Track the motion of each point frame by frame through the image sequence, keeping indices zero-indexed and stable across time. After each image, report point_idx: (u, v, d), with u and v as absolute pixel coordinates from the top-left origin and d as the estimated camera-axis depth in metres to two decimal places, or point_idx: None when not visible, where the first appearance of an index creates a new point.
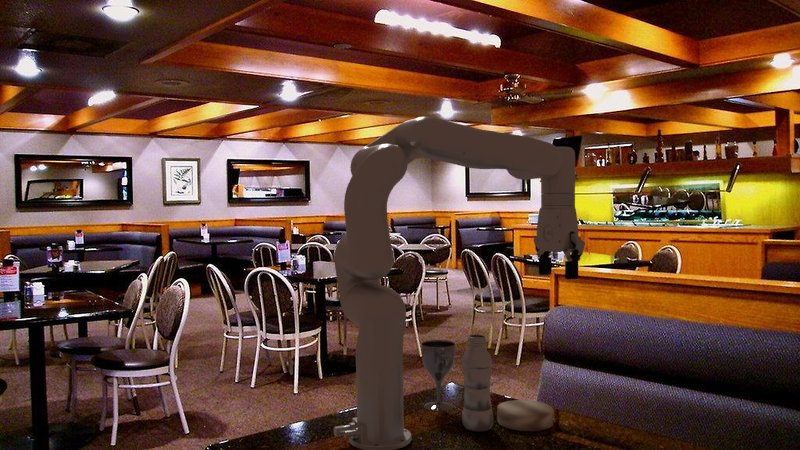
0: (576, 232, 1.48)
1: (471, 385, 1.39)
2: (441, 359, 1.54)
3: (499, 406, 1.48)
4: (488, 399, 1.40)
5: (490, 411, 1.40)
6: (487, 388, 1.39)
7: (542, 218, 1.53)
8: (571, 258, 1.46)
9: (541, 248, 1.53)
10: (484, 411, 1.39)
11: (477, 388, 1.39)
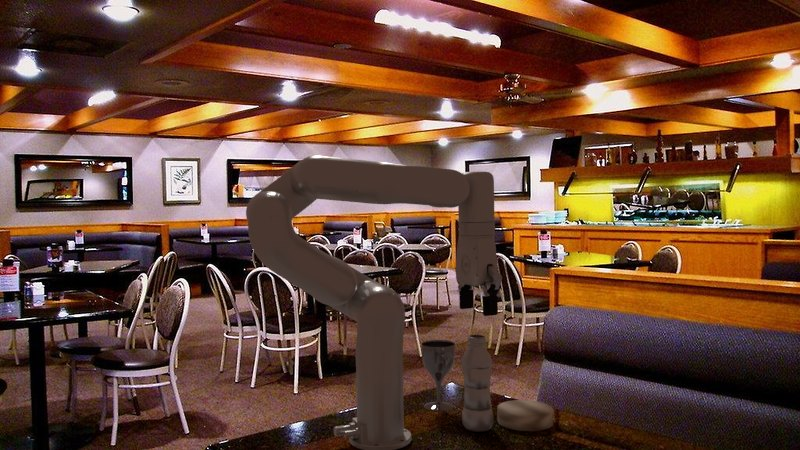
0: (494, 264, 1.36)
1: (471, 385, 1.39)
2: (441, 359, 1.54)
3: (499, 406, 1.48)
4: (488, 399, 1.40)
5: (490, 411, 1.40)
6: (487, 388, 1.39)
7: (460, 248, 1.41)
8: (488, 293, 1.35)
9: (460, 281, 1.42)
10: (484, 411, 1.39)
11: (477, 388, 1.39)
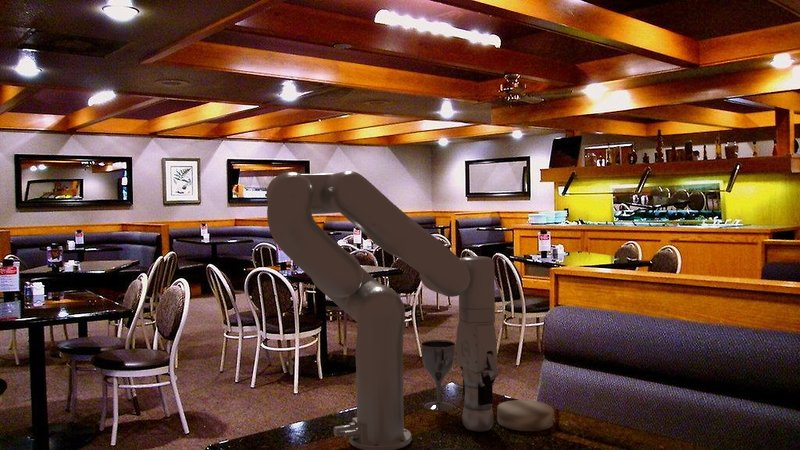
0: (494, 351, 1.37)
1: (472, 385, 1.39)
2: (441, 359, 1.54)
3: (499, 406, 1.48)
4: None
5: (490, 411, 1.40)
6: None
7: (460, 332, 1.42)
8: (483, 384, 1.37)
9: (460, 364, 1.42)
10: (484, 411, 1.39)
11: (477, 388, 1.39)
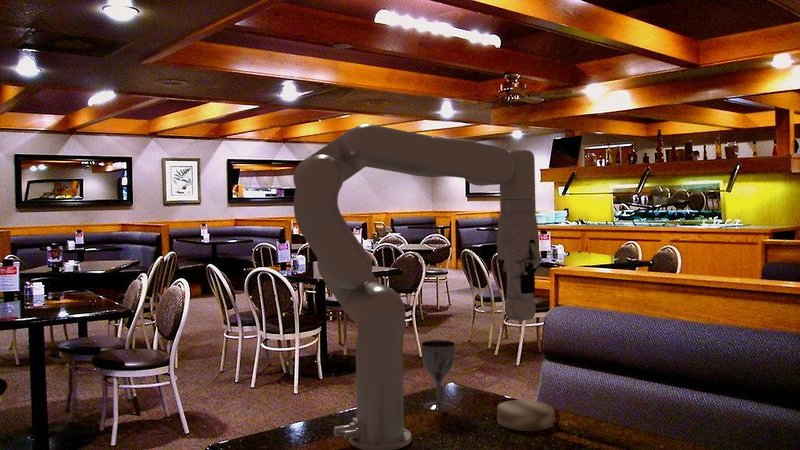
0: (536, 240, 1.40)
1: (514, 275, 1.42)
2: (441, 359, 1.54)
3: (499, 406, 1.48)
4: None
5: (533, 300, 1.43)
6: None
7: (502, 226, 1.45)
8: (526, 272, 1.40)
9: (501, 257, 1.46)
10: (527, 300, 1.42)
11: (520, 277, 1.42)
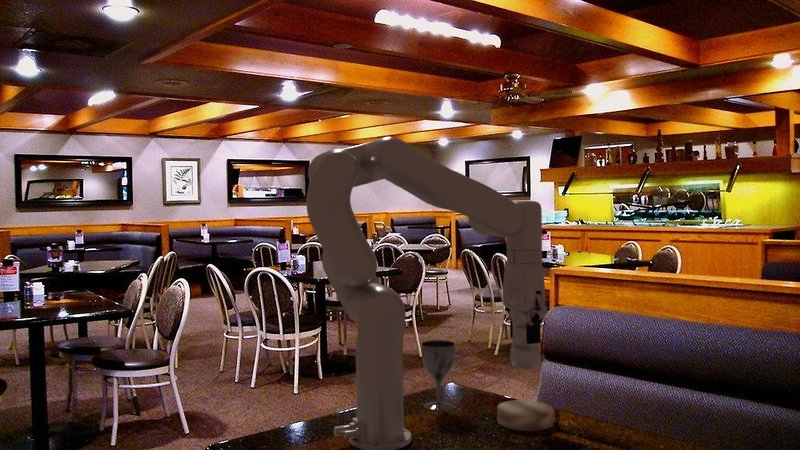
0: (543, 291, 1.41)
1: (520, 324, 1.43)
2: (441, 359, 1.54)
3: (499, 406, 1.48)
4: None
5: (538, 350, 1.44)
6: None
7: (508, 275, 1.46)
8: (532, 323, 1.41)
9: (507, 306, 1.47)
10: (532, 350, 1.43)
11: None
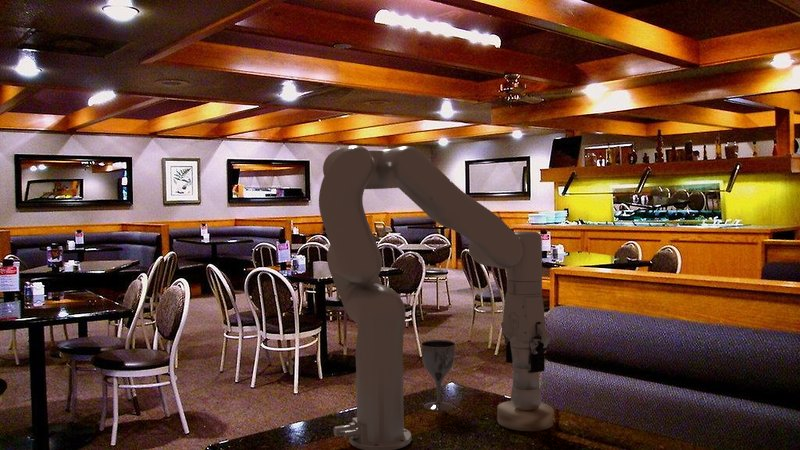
0: (542, 322, 1.42)
1: (521, 365, 1.43)
2: (441, 359, 1.54)
3: (499, 406, 1.48)
4: (537, 379, 1.44)
5: (539, 390, 1.44)
6: None
7: (508, 305, 1.46)
8: (536, 351, 1.40)
9: (507, 336, 1.47)
10: (533, 390, 1.43)
11: (527, 368, 1.43)
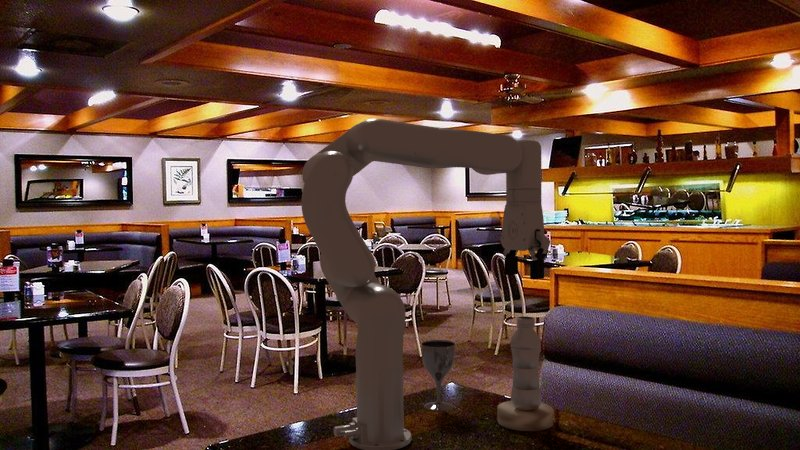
0: (542, 230, 1.41)
1: (521, 365, 1.43)
2: (441, 359, 1.54)
3: (499, 406, 1.48)
4: (537, 379, 1.44)
5: (539, 390, 1.44)
6: (536, 368, 1.44)
7: (507, 215, 1.46)
8: (536, 257, 1.39)
9: (506, 247, 1.46)
10: (533, 390, 1.43)
11: (527, 368, 1.43)
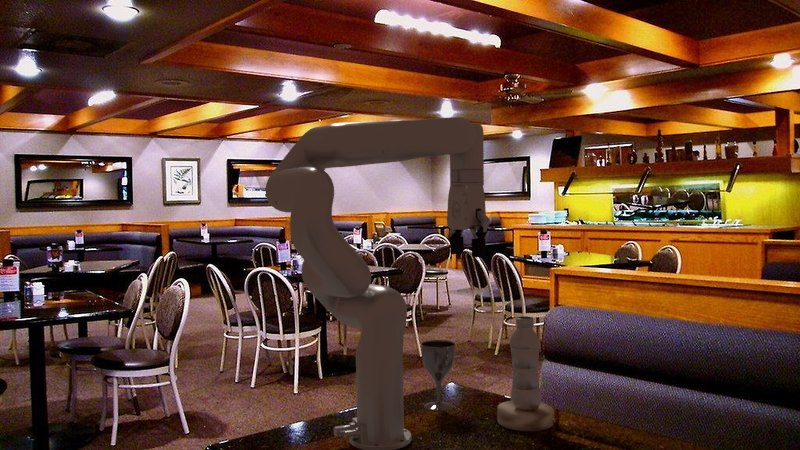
0: (483, 209, 1.45)
1: (520, 365, 1.43)
2: (441, 359, 1.54)
3: (499, 406, 1.48)
4: (537, 378, 1.44)
5: (539, 390, 1.44)
6: (536, 368, 1.44)
7: (451, 196, 1.50)
8: (477, 235, 1.43)
9: (451, 226, 1.51)
10: (533, 390, 1.43)
11: (526, 368, 1.43)
